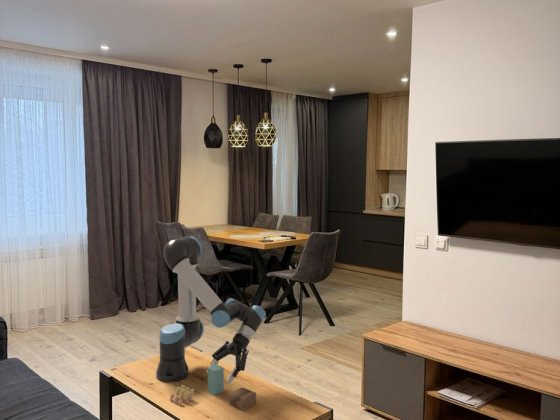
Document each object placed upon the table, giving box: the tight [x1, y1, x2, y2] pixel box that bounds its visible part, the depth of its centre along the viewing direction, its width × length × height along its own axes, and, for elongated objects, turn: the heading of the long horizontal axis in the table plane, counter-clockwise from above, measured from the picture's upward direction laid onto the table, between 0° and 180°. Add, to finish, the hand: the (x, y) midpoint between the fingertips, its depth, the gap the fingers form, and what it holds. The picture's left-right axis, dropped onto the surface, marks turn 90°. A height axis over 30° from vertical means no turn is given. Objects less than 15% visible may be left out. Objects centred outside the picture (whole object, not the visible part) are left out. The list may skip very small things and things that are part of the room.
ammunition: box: [169, 384, 195, 406], centre depth 209 cm, size 5×7×8 cm
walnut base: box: [228, 386, 257, 411], centre depth 206 cm, size 8×8×5 cm
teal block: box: [207, 364, 225, 396], centre depth 217 cm, size 5×5×11 cm
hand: (218, 378), depth 216 cm, fingers open, 13 cm apart
